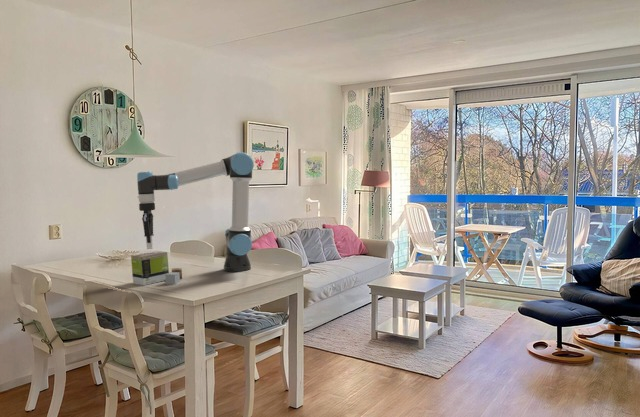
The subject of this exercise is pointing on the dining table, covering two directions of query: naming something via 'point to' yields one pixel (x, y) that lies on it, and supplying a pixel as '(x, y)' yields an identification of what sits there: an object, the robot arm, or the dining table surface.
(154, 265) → the tea box
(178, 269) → the walnut cube
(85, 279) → the dining table surface
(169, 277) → the slate-grey cube
